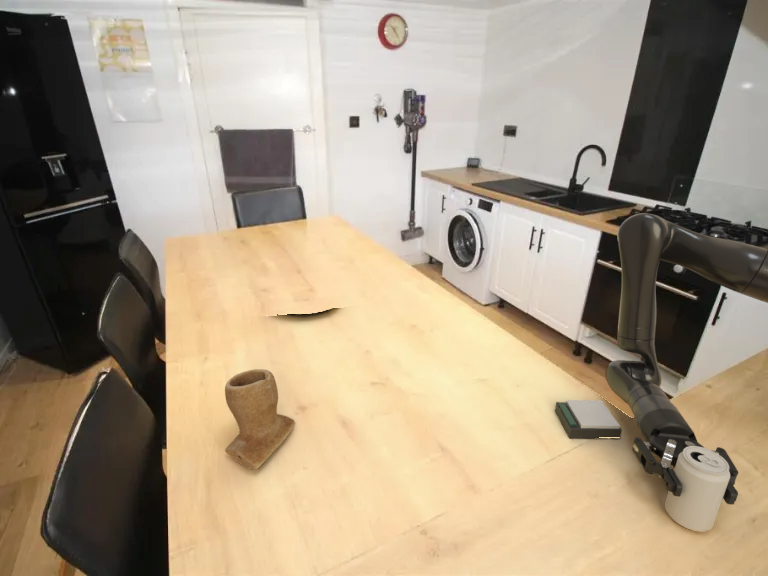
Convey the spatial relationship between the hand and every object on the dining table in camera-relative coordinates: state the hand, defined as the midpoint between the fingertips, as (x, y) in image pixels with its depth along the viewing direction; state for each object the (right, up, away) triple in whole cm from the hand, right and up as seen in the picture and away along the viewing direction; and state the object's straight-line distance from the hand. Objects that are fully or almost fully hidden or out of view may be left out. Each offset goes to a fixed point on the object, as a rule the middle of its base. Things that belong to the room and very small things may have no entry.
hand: (705, 496), depth 61 cm
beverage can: (+1, -6, +5) cm, 8 cm away
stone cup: (-74, -1, +24) cm, 78 cm away
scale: (-5, +2, +26) cm, 27 cm away
